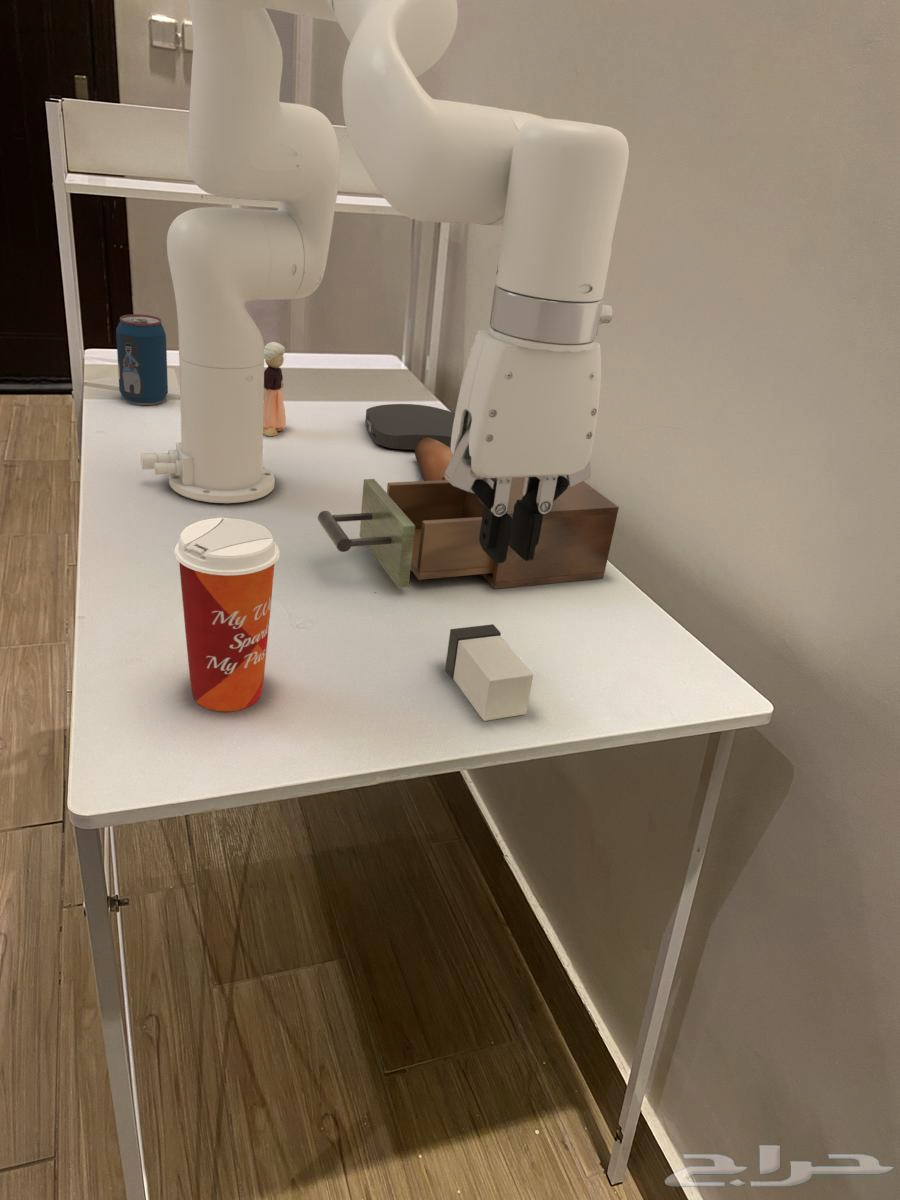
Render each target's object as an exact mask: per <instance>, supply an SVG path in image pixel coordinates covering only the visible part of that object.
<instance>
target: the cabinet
mask: <svg viewBox="0 0 900 1200" xmlns="http://www.w3.org/2000/svg"><path fill="white" fill-rule="evenodd" d="M471 473H473V474H475V473H474V472H473V471H472V469H471ZM524 482H525V477H519V478H512V482H511V489H510V496H509V502H508V509H507V514H509V515H510V516H511V517H513V511H514V505H515V503H516V501H517V500H522V497H523V496H522V495H523V488H524ZM619 509H620V507H619V506H618V505H616V504H615V503H614V502H613V501H611V500H610V499H608V497H605V495H603V494H602V493H601V492H599V491H598V490H596V489H595V488H594V487H592V486H591V485H589V484H588V483H586V481H582V482H580V483H578V484H576V485H573V486H571V487H570V486H569V487H568V488H567V489H566V490H565V491H564V492H563V493H562V494H561V495H560V496H559V497H558V498H557V499H556V500H555V501H554V502H553V504H552V508H551V510H550V511H549V512H548V513H546V514H543V520H542V526H541V531H540V537H539V542H538V544H537V545H536V547H535V553H534V558H533V560H531V561H525V560H524V559H522V558H521V557H520V556H519V555H518V554H517V553H516V552H515V551H514V550H513V549H512V548H511V547H510V546H509V545H508V551H507V557H506V561H504V563H495V565H494V572H493V573H488V574H480V575H481V577H483V578H484V579H485V581H487V583H488V584H489V585H490V586H491V587H492V588H493V589H494V590H495V589H496V590H497V589H498V590H499V589H508V588H518V587H527V586H537V585H548V584H558V583H568V582H577V581H579V582H580V581H588V580H590V581H591V580H599V579H604V577H605V572H606V569H607V568H606V567H607V565H608V564H607V563H608V559H609V555H610V554H609V553H610V551H611V546H612V540H613V536H614V532H615V528H616V523H617V519H618V513H619Z"/></svg>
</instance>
